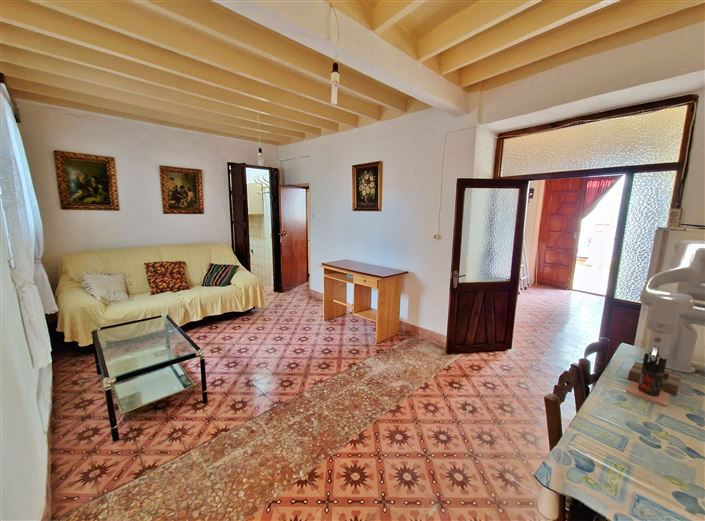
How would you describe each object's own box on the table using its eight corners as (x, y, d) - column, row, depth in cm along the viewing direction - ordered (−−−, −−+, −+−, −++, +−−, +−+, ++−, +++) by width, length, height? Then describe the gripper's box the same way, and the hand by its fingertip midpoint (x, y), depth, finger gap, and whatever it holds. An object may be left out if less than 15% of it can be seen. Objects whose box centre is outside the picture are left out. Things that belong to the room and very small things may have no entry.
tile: (631, 382, 122) (632, 381, 121) (669, 395, 113) (670, 394, 113) (626, 392, 115) (626, 390, 115) (666, 406, 106) (666, 404, 106)
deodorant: (663, 396, 111) (671, 360, 109) (647, 396, 111) (654, 360, 109) (649, 387, 117) (656, 353, 114) (633, 387, 117) (640, 352, 115)
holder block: (634, 369, 132) (635, 361, 132) (679, 383, 121) (681, 375, 121) (627, 379, 124) (629, 371, 123) (676, 396, 113) (678, 387, 112)
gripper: (673, 336, 101) (664, 380, 104) (678, 324, 112) (670, 364, 115) (643, 329, 107) (635, 371, 110) (651, 318, 118) (643, 357, 121)
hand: (653, 367), depth 112 cm, fingers open, 9 cm apart
